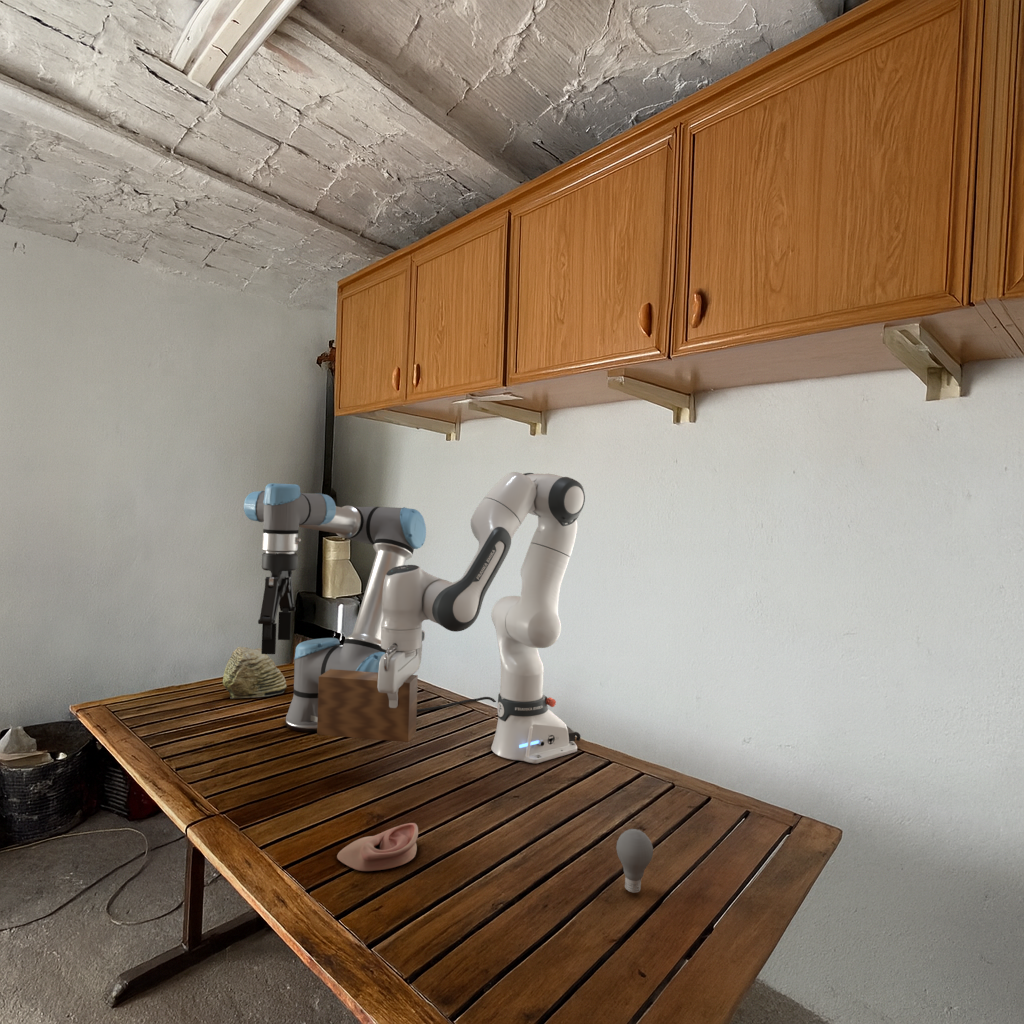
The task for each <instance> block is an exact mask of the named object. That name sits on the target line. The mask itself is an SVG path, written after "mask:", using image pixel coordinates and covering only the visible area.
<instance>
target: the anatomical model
mask: <svg viewBox="0 0 1024 1024" xmlns="http://www.w3.org/2000/svg"><path fill="white" fill-rule="evenodd" d="M418 837H419V826H418V825H417V823H415V822H409V823H404V824H400V825H397V826H394V827H391V828H389V829H387V830H385V831H381V833H377V834H375V835H369V836H364V837H361V838H358V839H356V840H354V841H352V842H350V843H349V844H347V845H346V846H345V847H343V848H342V849H341V850H339V852H337V854H336V859H337V860H338V861H339V862H341V863H342V864H343V865H346V867H349V868H351V869H353V870H356V871H359V872H373V871H381V870H383V871H384V870H389V869H393V868H396V867H397V868H398V867H400V866H403V865H405V864H407V863H409V862H410V861H412V860H413V859H414V858H415V857H416V855H417V851H418V844H417V841H418Z"/></svg>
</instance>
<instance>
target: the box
mask: <svg viewBox="0 0 1024 1024" xmlns="http://www.w3.org/2000/svg"><path fill="white" fill-rule="evenodd" d="M418 679H419V676H418V674H413V675H411V676H410V677H409V678H408V679H407V680H406V681H405V682H404V683H403V685H402V686H401V687H400V688H399V691H398V698H399V705H398V706H397V707H396V708H390V707H389V698H388V695H387V693H380V692H379V691H378V687H377V684H378V672H363V671H349V670H335V669H330V670H328V671H327V672H325V673H323V674H322V675H320V676H319V684H318V724H317V732H316V735H319V736H328V737H329V736H330V737H342V738H343V737H344V738H353V739H354V738H355V739H364V740H365V739H366V740H378V741H388V742H389V741H391V742H400V743H401V742H403V743H409V742H410V741H411V739H412V738H413V737H414V736H415V734H416V733H417V720H418V719H417V718H418V717H417V716H418V715H417V714H418V712H417V709H418V683H419V681H418Z"/></svg>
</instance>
